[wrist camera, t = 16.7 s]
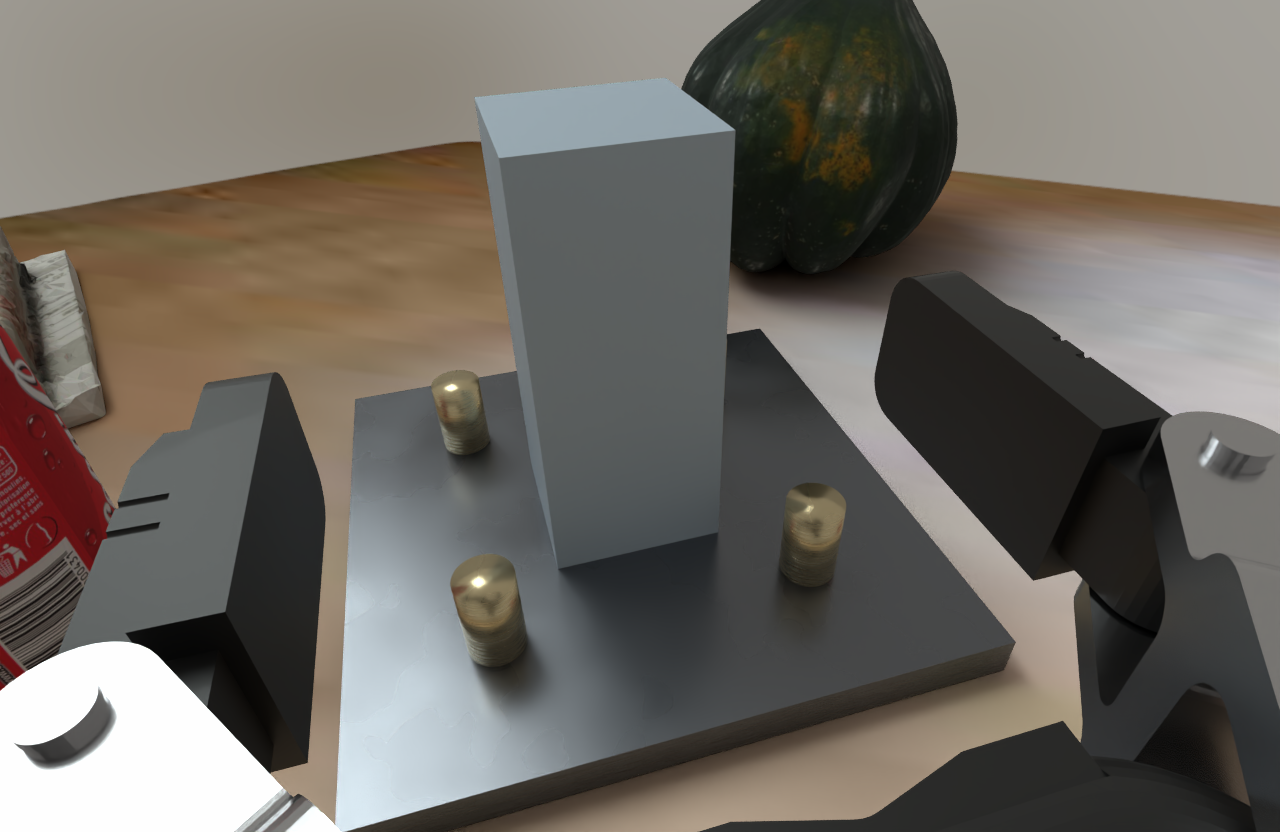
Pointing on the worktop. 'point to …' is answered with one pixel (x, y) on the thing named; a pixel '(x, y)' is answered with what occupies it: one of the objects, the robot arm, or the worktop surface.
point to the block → (616, 304)
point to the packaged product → (52, 331)
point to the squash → (828, 127)
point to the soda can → (41, 520)
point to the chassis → (619, 606)
